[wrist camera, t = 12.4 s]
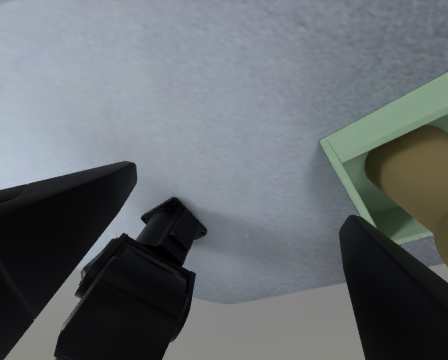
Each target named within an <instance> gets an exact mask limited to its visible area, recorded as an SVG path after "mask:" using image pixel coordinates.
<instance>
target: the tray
mask: <svg viewBox="0 0 448 360" xmlns="http://www.w3.org/2000/svg"><path fill="white" fill-rule="evenodd" d="M423 125H432V126H435V127H437V128H439V129H441V130H443V131H445V132H446V133H447V134H448V72H447V73H445V74H443V75H441V76H440V77H438V78H436V79H434V80H432V81H430V82H428V83H427V84H425V85H423V86H421V87H419V88H417V89H415V90H413V91H412V92H410V93H408V94H406V95H404V96H402V97H400V98H399V99H397V100H395V101H393V102H391V103H389V104H387V105H385V106H384V107H382V108H380V109H378V110H376V111H374V112H372V113H371V114H369V115H367V116H365V117H363V118H361V119H359V120H357V121H356V122H354V123H352V124H350V125H348V126H346V127H344V128H343V129H341V130H339V131H337V132H335V133H333V134H331V135H329V136H328V137H326V138H324V139H322V140H320V141H319V142H320V144H321V146H322V148H323V150H324V151H325V153H326V155H327V157H328V159H329V161H330V162H331V164H332V166H333V168H334V169H335V171H336V173H337V175H338V176H339V178H340V180H341V182H342V183H343V185H344V187H345V189H346V190H347V192H348V194H349V196H350V197H351V199H352V201H353V203H354V204H355V206H356V208H357V210H358V211H359V213H360V215H361V217H362V218H364V219H365V220H367V221H368V222H369V223H370V224H372V225H373V226H374V227H376V228H377V229H378V230H380V231H381V232H382V233H383V234H385V235H386V236H387V237H389V238H390V239H391V240H393V241H394V242H395V243H397V244H402V243H406V242H409V241H413V240H417V239H421V238H424V237H428V236H432V235H434V234H432V233H431V232H430V231H429V230H428V229H426V228H425V227H424V226H423V225H422V224H421V223H419V222H418V221H417V220H416V219H415V218H413V217H412V216H411V215H410V214H409V213H407V212H406V211H405V210H404V209H403V208H401V207H400V206H399V205H398V204H397V203H395V202H394V201H393V200H392V199H391V198H390V197H388V196H387V195H386V194H385V193H384V192H382V191H381V190H380V189H379V188H378V187H376V186H375V185H374V184H373V183H372V182H371V181H370V180H369V179H368V178H367V175H366V173H365V170H364V169H365V160H366V157H367V155H368V153H369V151H370V150H372V149H374V148H376V147H378V146H380V145H382V144H385V143H387V142H389V141H391V140H393V139H395V138H397V137H400V136H402V135H404V134H406V133H408V132H410V131H412V130H415V129H417V128H419V127H421V126H423Z"/></svg>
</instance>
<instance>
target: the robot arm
mask: <svg viewBox="0 0 448 360" xmlns="http://www.w3.org/2000/svg"><path fill="white" fill-rule="evenodd" d="M136 183H137V170H136V164H135V163H133V162H128V161H123V162H118V163H114V164H110V165H105V166H101V167H97V168H93V169H88V170H84V171H80V172H76V173H71V174H67V175H63V176H59V177H54V178H50V179H46V180H42V181H37V182H33V183H29V184H28V185H27V184H24V185H20V186H16V187H11V188H7V189H2V190H0V360H4V358H5V357H6V356H7V355H8V354H9V352H10V351H11V350H12V348H13V347H14V346H15V345H16V343H17V342H18V341H19V339H20V338H21V337H22V336H23V334H24V333H25V332H26V330H27V329H28V328H29V327H30V325H31V324H32V323H33V322H34V319H36V317H37V316H38V315H39V314H40V312H41V311H42V310H43V309H44V307H45V306H46V305H47V303H48V302H49V301H50V299H51V298H52V297H53V296H54V294H55V293H56V292H57V291H58V289H59V288H60V287H61V286H62V284H63V283H64V282H65V280H66V279H67V278H68V277H69V275H70V274H71V273H72V271H73V270H74V269H75V268H76V266H77V265H78V264H79V263H80V261H81V260H82V259H83V257H84V256H85V255H86V254H87V252H88V251H89V250H90V248H91V247H92V246H93V245H94V243H95V242H96V241H97V240H98V238H99V237H100V236H101V234H102V233H103V232H104V231H105V229H106V228H107V227H108V226H109V224H110V223H111V222H112V220H113V219H114V218H115V217H116V215H117V214H118V213H119V211H120V210H121V208H122V206H123V205H124V203H125V202H126V200H127V198H128V197H129V195H130V193H131V192H132V190H133V189H134V187H135V185H136ZM173 201H175V202H173ZM141 220H142V221H143V222H144V223H145V224H146V226H145V228H144V229H143V230H142V232H141V233H140V235H139V236H138V238H137V239H136V240H134V239H132V238H130V237H129V236H128V235H127V234H125V233H123V234H122V235H121V236H120V237H119V238H118V237H117V238H116V239H111V241H110V242H109V243H108V244H107V245H106V247H105V248H104V249H103V250H102V251H101V252H100V253H99V254H98V255H97V256H96V257H95V258H94V259H92V260H91V261H90V262H89V263H88V264H87V265H86V266H85V267H84V268H83V269H82V271H81V278H82V280H81V282H80V284H79V288H78V289H77V291H76V293H75V296H77V297H79V298H81V300H80V302H79V303H78V305H77V306H76V307H75V309H74V310H73V312H72V313H71V314H70V316H69V317H68V319H67V320H66V321H65V323H64V324H63V326H62V328H61V331H60V335H59V337H58V341H57V345H56V349H55V353H54V357H56V360H162V358H163V356H164V354H165V351H166V349H167V347H168V345H169V343H170V342H172V341H174V340H175V339H176V337H177V336H178V335H179V333H180V331H181V330H182V328H183V326H184V324H185V322H186V319H187V317H188V314H189V311H190V307H191V301H192V295H193V289H194V282H195V276H196V273H194V272H192V271H189V270H187V269H185V268H183V267H182V266H183V264H184V261H185V259H186V256H187V254H188V251H189V250H190V248H191V246H192V243H193V241H194V240H196V239H198V238H201V237H203V236H205V235H206V234H207V230H206V228H205V227H204V226H203V225H202V224H201V223H200V222H199V221H198V220H197V219H196V218H195V217H194V216H193V215H192V214H191V213H190V212H189V211H188V209H187V208H186V207H185V206H184V205H183V204H182V203H181V202H180V201H179V200H178V199H177V198H175V197H172V198H170V199H168V200H167V201H165V202H163V203H162V204H160V205H158V206H157V207H155V208H154V209H152V210H150V211H149V212H147V213H145V214H144V215H143V216H142V217H141ZM202 231H203V232H202ZM339 238H340V246H341V254H342V262H343V269H344V273H345V278H346V282H347V286H348V290H349V294H350V298H351V302H352V306H353V311H354V315H355V319H356V323H357V327H358V331H359V335H360V339H361V343H362V348H363V352H364V356H365V360H448V283H447V282H446V281H445V280H443V279H442V278H441V277H440V276H438V275H437V274H436V273H434V272H433V271H432V270H430V269H429V268H428V267H427V266H425V265H424V264H423V263H421V262H420V261H419V260H417V259H416V258H415V257H413V256H412V255H411V254H410V253H408V252H407V251H406V250H404V249H403V248H402V247H400V246H399V245H398V244H397V243H395V242H394V241H393V240H391V239H390V238H389V237H387V236H386V235H385V234H383V233H382V232H381V231H380V230H378V229H377V228H376V227H374V226H373V225H372V224H370V223H369V222H368V221H367V220H365V219H364V218H362V217H360V216H356V215H350V216H349V217H348V218H347V219H346V221H345V222H344V224H343V225H342V227H341V229H340V231H339Z"/></svg>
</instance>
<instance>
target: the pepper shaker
mask: <svg viewBox="0 0 448 360" xmlns="http://www.w3.org/2000/svg"><path fill="white" fill-rule="evenodd" d="M364 170H365V173H366V175H367V178H368V179H369V180H370V181H371V182H372V183H373V184H374V185H375V186H376V187H378V188H379V189H380V190H381V191H382V192H384V193H385V194H386V195H387V196H388V197H390V198H391V199H392V200H393V201H394V202H395V203H397V204H398V205H399V206H400V207H401V208H403V209H404V210H405V211H406V212H407V213H409V214H410V215H411V216H412V217H413V218H415V219H416V220H417V221H418V222H419V223H421V224H422V225H423V226H424V227H425V228H426V229H428V230H429V231H430V232H431V233H432V234H434V235H435V243H436V247H437V250H438V252H439V254H440V257H441V259H442V260H443V261H444V263H445V264H446V265H447V266H448V134H447V133H446V132H445V131H443V130H441V129H439V128H437V127H435V126H432V125H423V126H421V127H419V128H417V129H415V130H412V131H410V132H408V133H406V134H404V135H402V136H400V137H397V138H395V139H393V140H391V141H389V142H387V143H385V144H382V145H380V146H378V147H376V148H374V149H372V150H370V151H369V153H368V155H367V157H366V160H365V169H364Z"/></svg>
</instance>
